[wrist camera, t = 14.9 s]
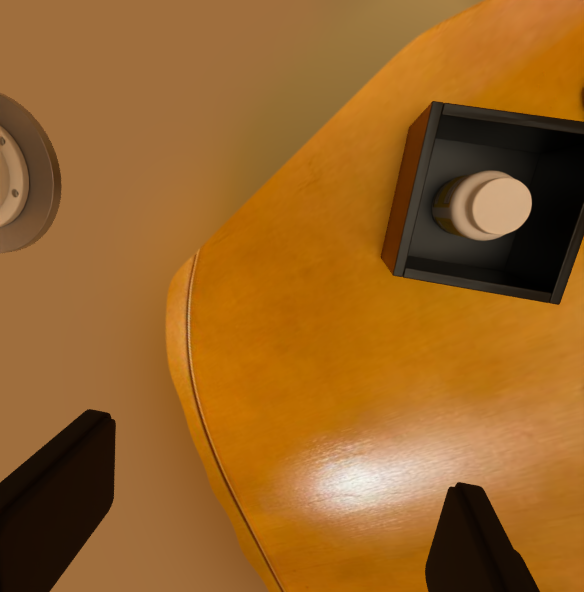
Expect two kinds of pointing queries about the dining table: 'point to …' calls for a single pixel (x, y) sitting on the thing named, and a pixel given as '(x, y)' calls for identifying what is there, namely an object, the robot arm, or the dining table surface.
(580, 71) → the dining table surface
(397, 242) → the trash bin
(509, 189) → the supplement bottle
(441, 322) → the dining table surface
